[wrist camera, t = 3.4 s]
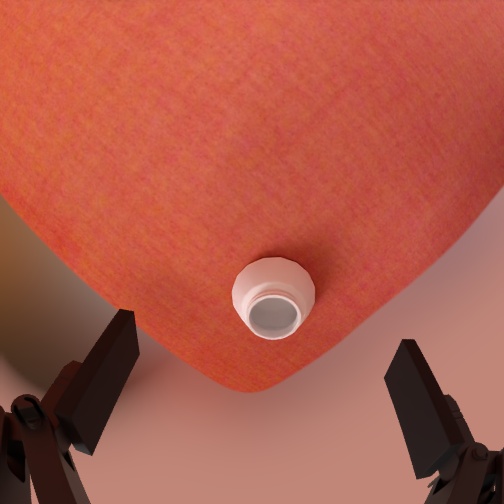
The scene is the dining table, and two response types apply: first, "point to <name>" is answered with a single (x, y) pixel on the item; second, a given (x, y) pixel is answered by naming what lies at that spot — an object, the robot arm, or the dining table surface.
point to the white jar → (273, 296)
